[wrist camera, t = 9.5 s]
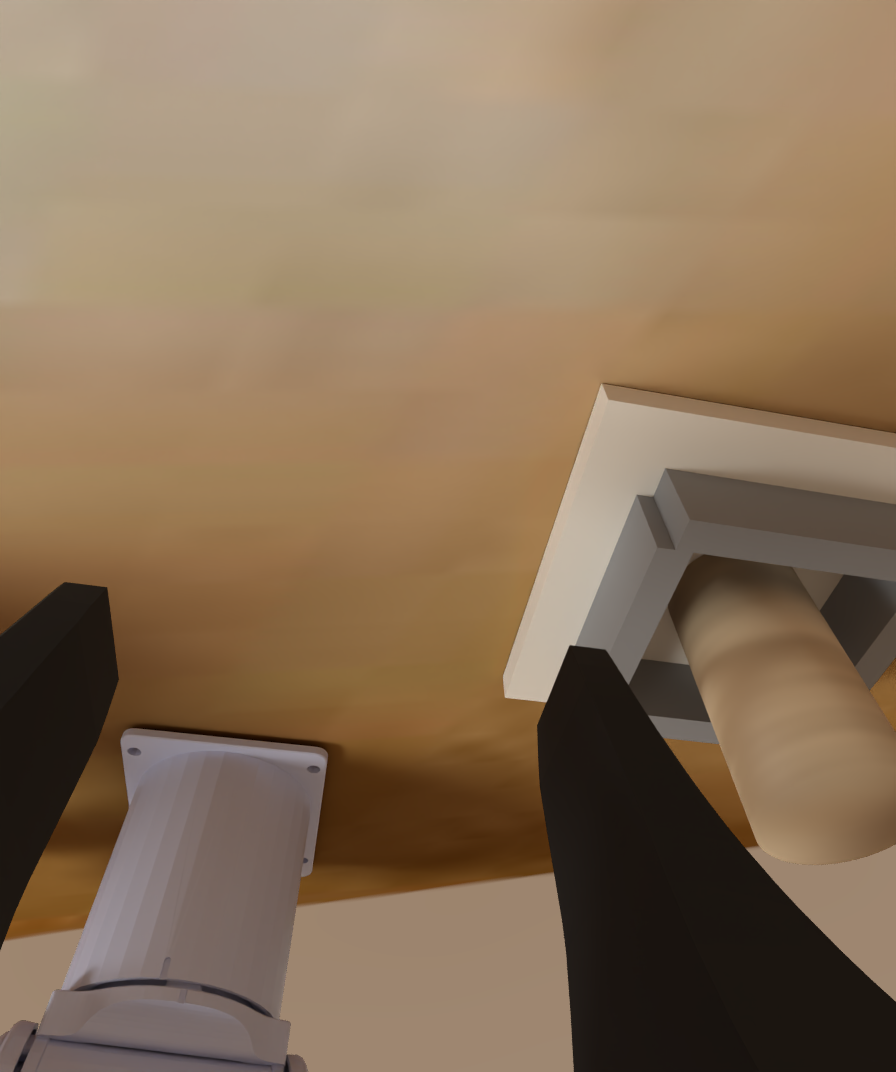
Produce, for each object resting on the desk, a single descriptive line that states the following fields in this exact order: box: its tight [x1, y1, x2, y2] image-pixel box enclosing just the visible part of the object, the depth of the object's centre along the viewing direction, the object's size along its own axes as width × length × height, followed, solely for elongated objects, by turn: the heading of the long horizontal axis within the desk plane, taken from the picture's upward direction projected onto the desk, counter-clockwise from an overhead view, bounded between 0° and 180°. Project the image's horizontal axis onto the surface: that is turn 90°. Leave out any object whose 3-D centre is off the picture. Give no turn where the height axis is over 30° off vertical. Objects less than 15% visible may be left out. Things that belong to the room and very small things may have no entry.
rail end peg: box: [668, 554, 896, 865], centre depth 20 cm, size 4×4×8 cm
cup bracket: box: [503, 383, 896, 744], centre depth 23 cm, size 12×12×4 cm
